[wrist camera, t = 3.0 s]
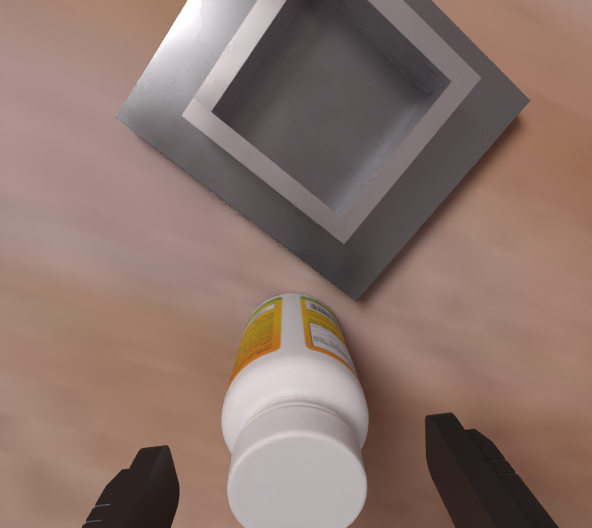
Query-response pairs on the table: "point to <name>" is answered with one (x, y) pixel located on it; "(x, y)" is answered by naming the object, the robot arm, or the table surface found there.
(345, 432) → the supplement bottle
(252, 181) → the plate
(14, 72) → the table surface
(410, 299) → the table surface
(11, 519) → the table surface
